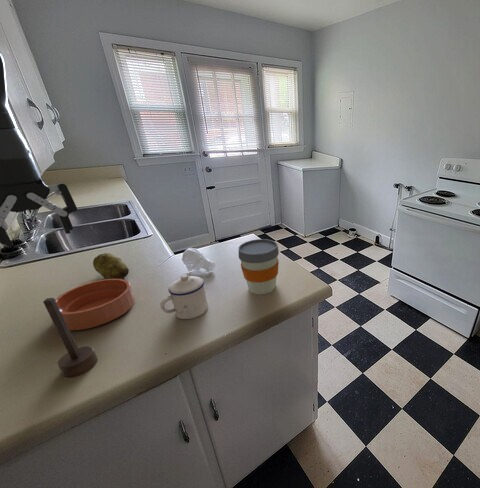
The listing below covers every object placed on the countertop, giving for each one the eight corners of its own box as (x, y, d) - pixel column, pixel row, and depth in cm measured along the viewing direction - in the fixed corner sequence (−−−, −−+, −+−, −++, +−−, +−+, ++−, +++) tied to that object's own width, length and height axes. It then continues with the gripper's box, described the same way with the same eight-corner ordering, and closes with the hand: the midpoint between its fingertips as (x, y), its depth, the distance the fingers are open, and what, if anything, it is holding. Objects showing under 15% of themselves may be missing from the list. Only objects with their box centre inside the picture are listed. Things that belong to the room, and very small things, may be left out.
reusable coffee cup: (261, 274, 99) (257, 236, 93) (288, 283, 93) (286, 243, 87) (235, 290, 89) (228, 249, 83) (264, 301, 83) (259, 258, 77)
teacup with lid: (200, 297, 85) (192, 265, 81) (214, 309, 80) (208, 275, 75) (159, 316, 77) (148, 281, 72) (172, 330, 71) (162, 293, 67)
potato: (104, 287, 91) (96, 266, 88) (95, 274, 99) (88, 254, 96) (132, 277, 97) (126, 257, 94) (122, 266, 105) (116, 247, 101)
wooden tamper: (56, 380, 57) (18, 311, 50) (71, 359, 63) (39, 293, 56) (90, 373, 59) (57, 305, 52) (102, 353, 64) (74, 289, 57)
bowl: (40, 331, 71) (30, 312, 69) (96, 293, 87) (90, 277, 85) (103, 333, 70) (96, 315, 68) (148, 295, 86) (143, 279, 84)
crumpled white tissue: (191, 244, 102) (218, 250, 100) (193, 263, 106) (220, 270, 103) (178, 250, 97) (206, 257, 94) (181, 271, 100) (209, 278, 98)
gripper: (51, 152, 56) (80, 225, 63) (-62, 158, 46) (-14, 245, 52) (58, 154, 52) (88, 233, 58) (-64, 161, 42) (-12, 255, 48)
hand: (40, 238), depth 55 cm, fingers open, 8 cm apart
